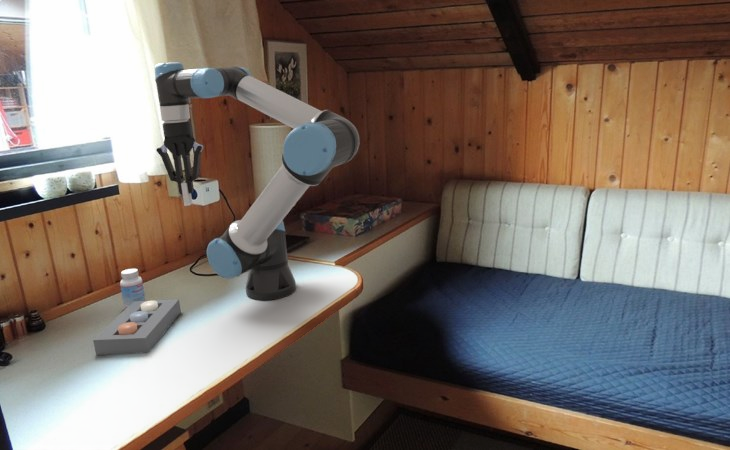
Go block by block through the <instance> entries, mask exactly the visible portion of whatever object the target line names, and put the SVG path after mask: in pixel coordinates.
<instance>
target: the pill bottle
mask: <svg viewBox="0 0 730 450" xmlns="http://www.w3.org/2000/svg"><path fill="white" fill-rule="evenodd" d="M120 275H121V276H120V277H121V278H122V279H121V280H120V282H119V285H120V290H121V291H120V292H121V296H122V303H123V307H124V310H125V309H126V308H127V307H128V306H129V305H131V304H132V303H133V302H134V301H147V300H146V294H145V289H144V283H143V279H142V277H141V276H139V270H138V268H127V269H125V270H122V271H121V272H120Z"/></svg>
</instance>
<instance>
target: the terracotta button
mask: <svg viewBox="0 0 730 450" xmlns="http://www.w3.org/2000/svg"><path fill="white" fill-rule="evenodd" d="M118 331H119V335H130V334H135V333H136V332H137V331H138V329H137V324H136V323H135V322H128V323H124V324H121V325H120V326H118Z"/></svg>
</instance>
